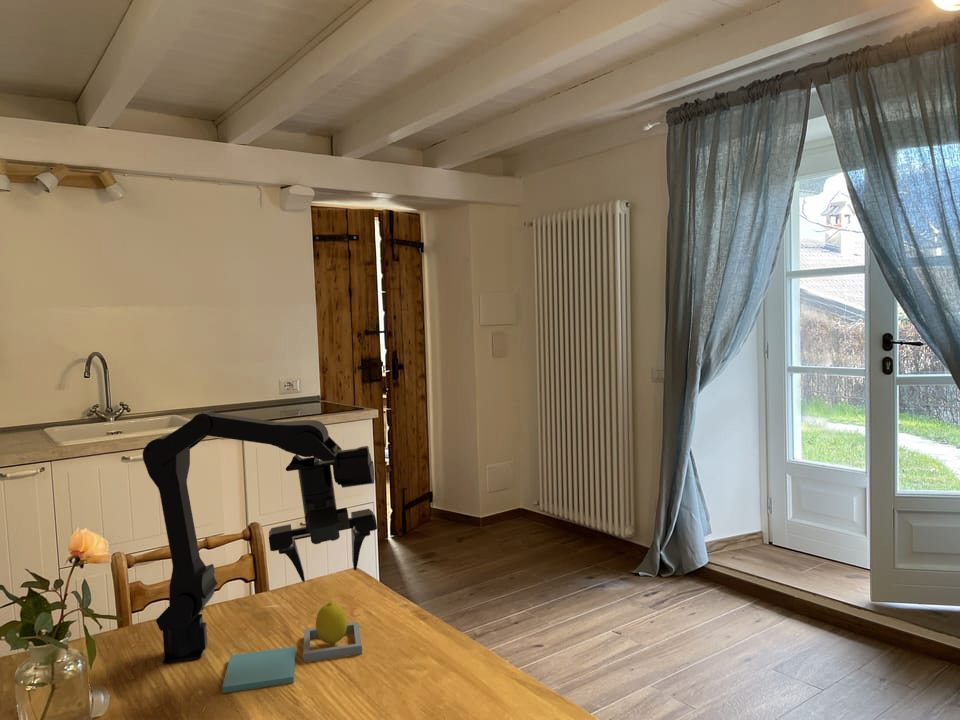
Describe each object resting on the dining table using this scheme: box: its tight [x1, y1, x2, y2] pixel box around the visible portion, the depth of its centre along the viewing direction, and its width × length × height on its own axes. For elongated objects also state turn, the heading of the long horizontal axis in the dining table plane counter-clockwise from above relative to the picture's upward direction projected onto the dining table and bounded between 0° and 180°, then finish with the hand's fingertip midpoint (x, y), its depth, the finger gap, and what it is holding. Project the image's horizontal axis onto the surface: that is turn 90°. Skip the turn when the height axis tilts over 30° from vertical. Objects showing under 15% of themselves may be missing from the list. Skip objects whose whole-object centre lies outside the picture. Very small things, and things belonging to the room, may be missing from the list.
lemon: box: [315, 601, 348, 647], centre depth 125 cm, size 6×6×8 cm
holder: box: [303, 621, 363, 663], centre depth 126 cm, size 10×10×2 cm
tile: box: [221, 645, 297, 694], centre depth 117 cm, size 11×11×1 cm
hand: (329, 575), depth 125 cm, fingers open, 9 cm apart
